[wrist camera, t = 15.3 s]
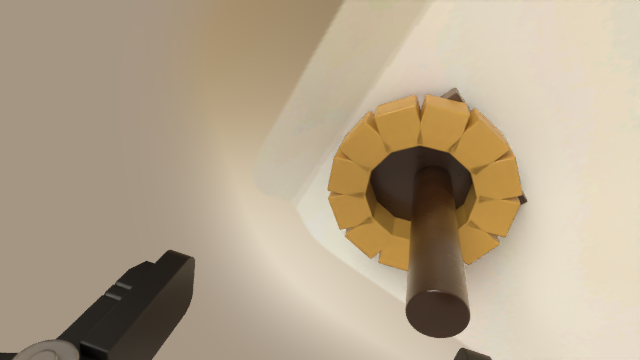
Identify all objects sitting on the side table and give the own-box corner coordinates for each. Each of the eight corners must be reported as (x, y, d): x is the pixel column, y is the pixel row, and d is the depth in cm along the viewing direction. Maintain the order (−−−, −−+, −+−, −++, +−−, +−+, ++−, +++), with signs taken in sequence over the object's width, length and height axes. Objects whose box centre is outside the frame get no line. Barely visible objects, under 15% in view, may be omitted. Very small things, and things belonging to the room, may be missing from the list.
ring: (304, 178, 23) (294, 193, 22) (421, 56, 19) (421, 62, 17) (418, 277, 24) (417, 299, 23) (553, 182, 20) (565, 201, 18)
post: (346, 156, 23) (289, 278, 14) (455, 86, 20) (483, 178, 11) (412, 244, 25) (404, 411, 15) (523, 191, 22) (603, 357, 12)
